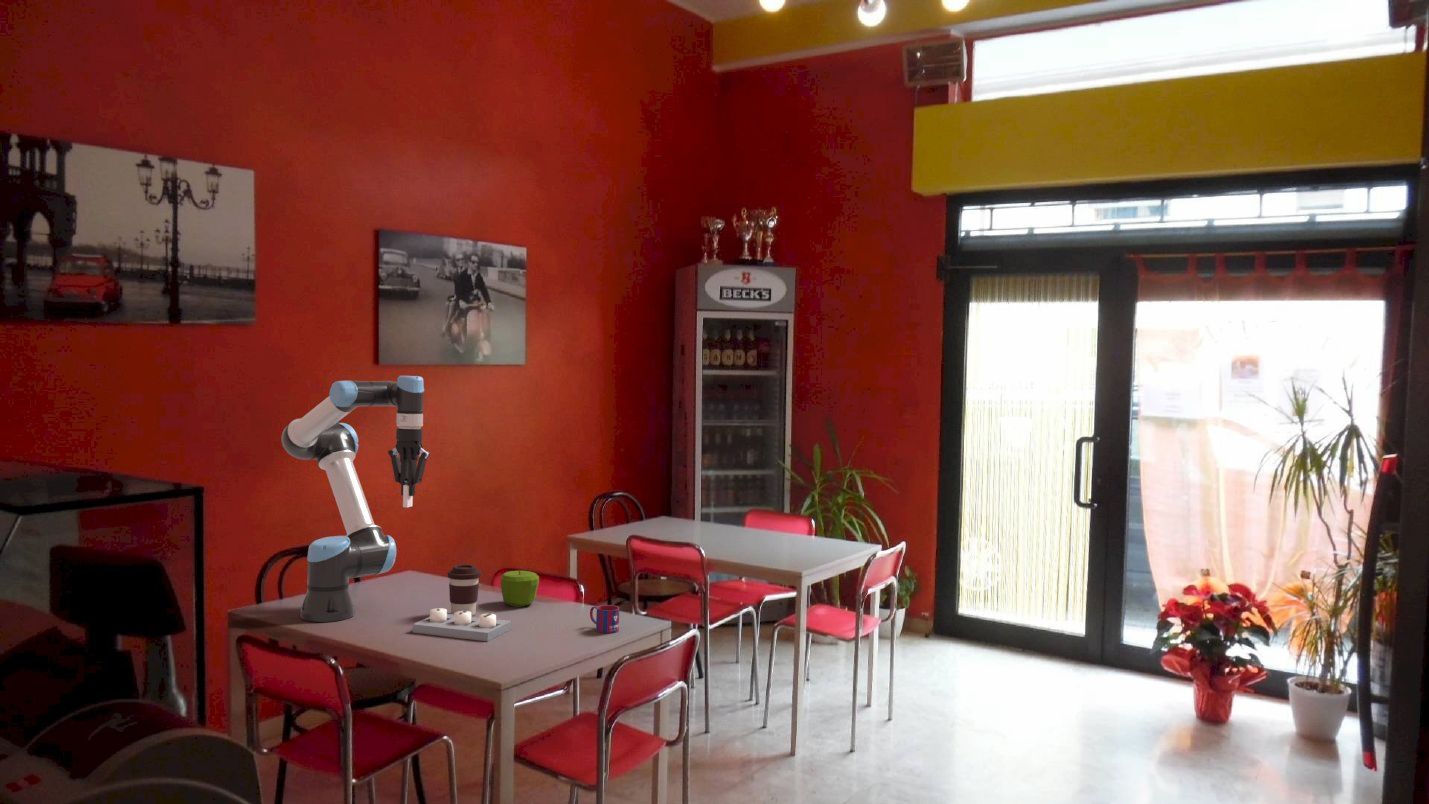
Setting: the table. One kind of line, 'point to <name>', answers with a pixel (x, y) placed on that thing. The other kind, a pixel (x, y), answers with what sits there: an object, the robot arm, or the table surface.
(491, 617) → the button
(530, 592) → the apple
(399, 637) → the table surface
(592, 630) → the table surface
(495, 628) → the console
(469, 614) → the button
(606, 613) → the cup
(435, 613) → the button
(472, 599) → the coffee cup
